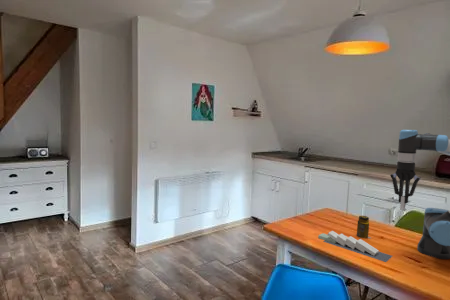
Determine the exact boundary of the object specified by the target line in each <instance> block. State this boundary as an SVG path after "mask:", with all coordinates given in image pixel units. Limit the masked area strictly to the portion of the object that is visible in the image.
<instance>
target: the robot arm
mask: <svg viewBox="0 0 450 300" xmlns="http://www.w3.org/2000/svg"><path fill="white" fill-rule="evenodd" d="M398 137H399V138H398V149H397V150H398V151H397V162H396V163H397V164H396V170H395V172H394V173H392V174H390V175H389V177H390V178H391V180H392V187H393V192H394V194H395V195H398V203H400V206H399V208H400V210H401V211H405V209H406V204H408V203H409V198H410V197H413V196H414V193H415V191H416V189H417V185H418V183H419V181H420V180H421V176H417V175H416V159H417V151H429V152H431V151H432V152H435V153H436V152H437V153H440V154H443V155H446V156H450V138H449V137H448V135H447V134H434V133H433V134H431V133H424V134H421V133H419V131H418V130H417V129H401V130H400V131H399V136H398ZM397 178H398V180H399V181H398V180H397ZM411 180H413V182H412V186H411V189H410V184H411ZM398 182H399V184H398ZM404 185H405V186H404ZM398 186H399V187H398ZM423 214H424V215H423V216H424V217H423V227H422V235H421V238H420V239H419V241H418V244H417V246H416V247H417V248H416V249H417V251H418V252H419V253H421V254H423V255H425V256H427V257H428V256H429V257H432V258H436V259H441V260H449V259H450V210H449V209H444V208H437V207H426V208H425V210H424V213H423Z"/></svg>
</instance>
